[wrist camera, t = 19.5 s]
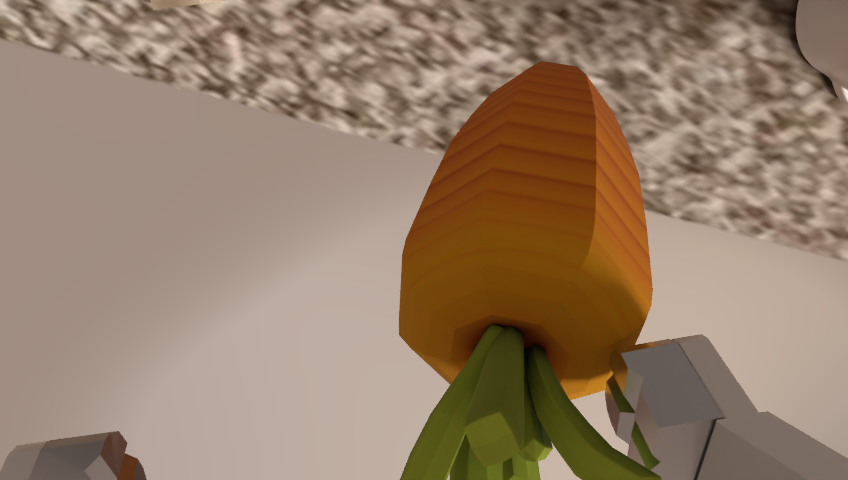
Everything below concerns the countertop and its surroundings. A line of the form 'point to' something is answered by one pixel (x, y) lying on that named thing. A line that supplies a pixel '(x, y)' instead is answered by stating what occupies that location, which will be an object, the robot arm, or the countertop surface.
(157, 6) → the wooden frame
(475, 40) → the countertop surface
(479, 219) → the carrot
